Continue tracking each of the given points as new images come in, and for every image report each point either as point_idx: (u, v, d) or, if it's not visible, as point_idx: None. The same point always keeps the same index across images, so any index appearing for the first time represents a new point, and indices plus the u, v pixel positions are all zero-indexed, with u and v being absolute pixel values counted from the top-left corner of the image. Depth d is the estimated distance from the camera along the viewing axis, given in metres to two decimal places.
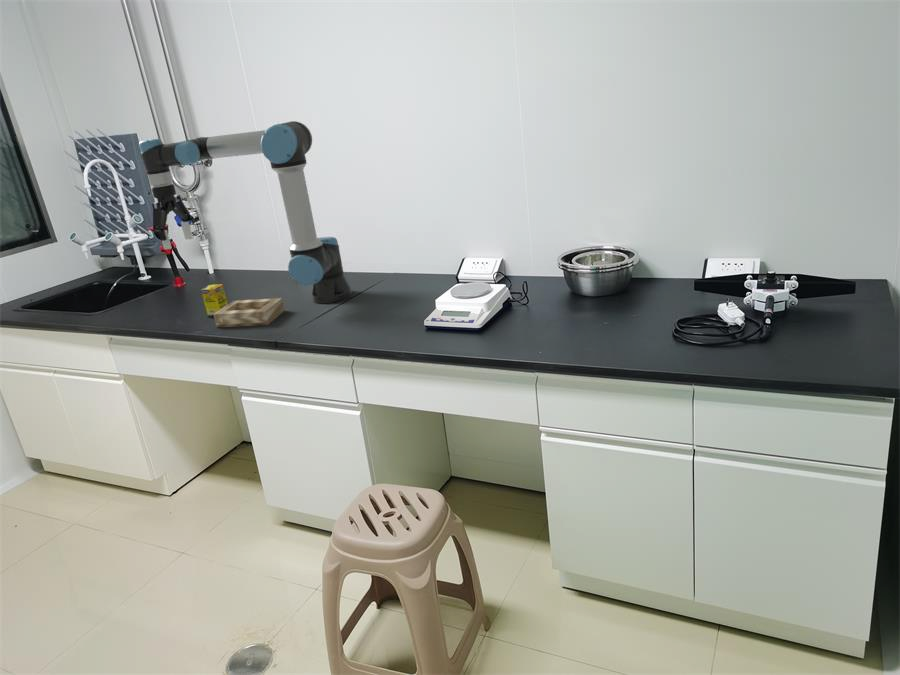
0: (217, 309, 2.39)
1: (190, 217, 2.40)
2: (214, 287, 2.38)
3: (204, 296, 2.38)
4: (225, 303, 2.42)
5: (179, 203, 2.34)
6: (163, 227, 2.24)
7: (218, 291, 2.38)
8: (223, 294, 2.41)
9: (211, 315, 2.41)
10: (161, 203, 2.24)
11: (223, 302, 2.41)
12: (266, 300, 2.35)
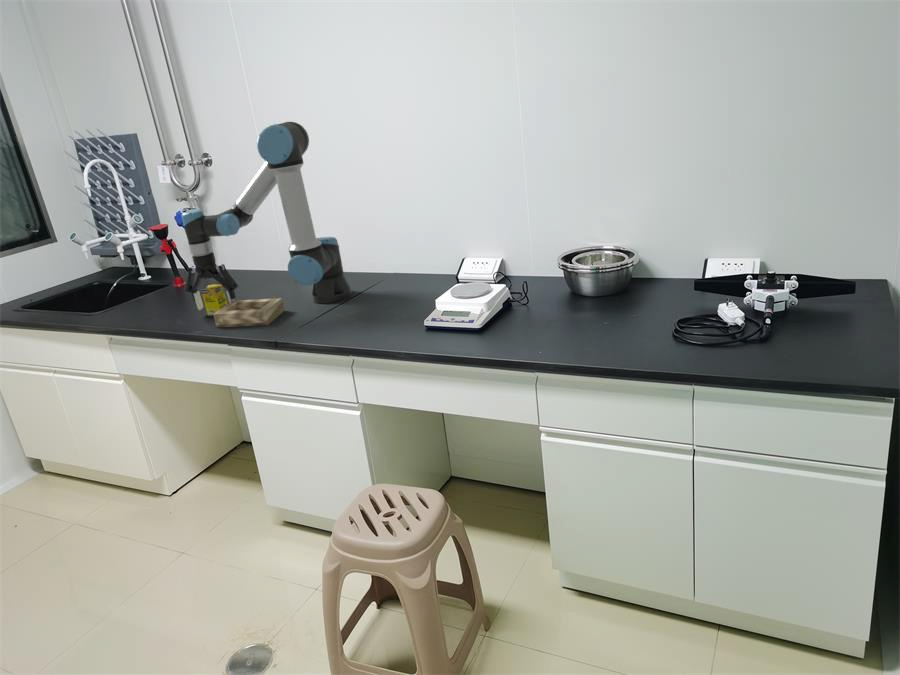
0: (217, 309, 2.39)
1: (233, 289, 2.36)
2: (214, 287, 2.38)
3: (204, 296, 2.38)
4: (225, 303, 2.42)
5: None
6: (192, 290, 2.40)
7: (218, 291, 2.38)
8: (223, 294, 2.41)
9: (211, 315, 2.41)
10: (195, 269, 2.37)
11: (223, 302, 2.41)
12: (266, 300, 2.35)
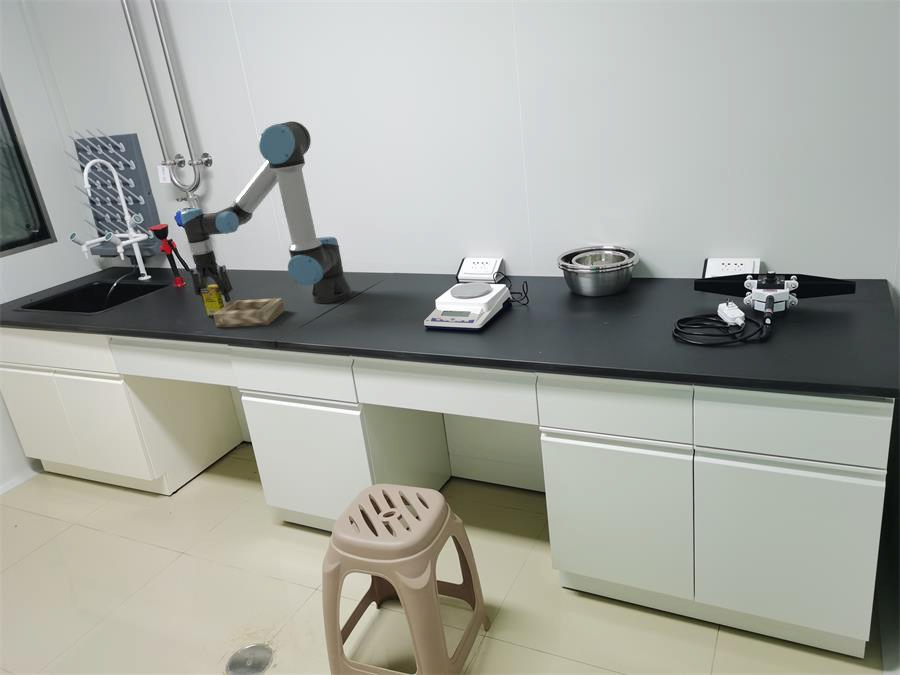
0: (217, 309, 2.39)
1: (227, 291, 2.37)
2: (214, 287, 2.38)
3: (204, 296, 2.38)
4: None
5: None
6: (201, 293, 2.40)
7: (218, 291, 2.38)
8: None
9: (211, 315, 2.41)
10: (196, 269, 2.37)
11: None
12: (266, 300, 2.35)
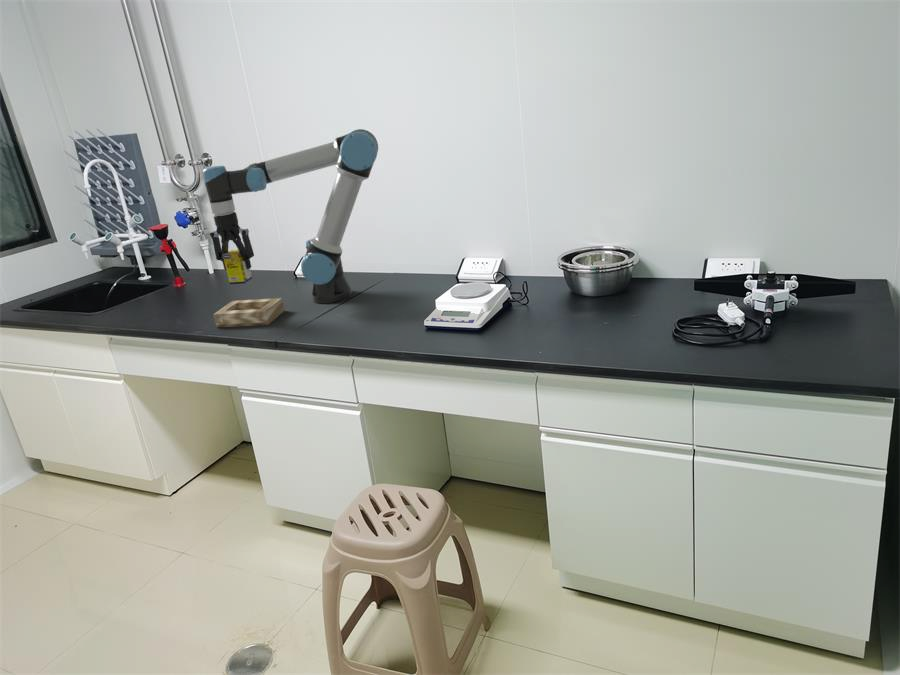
0: (240, 275, 2.24)
1: (248, 257, 2.22)
2: (237, 252, 2.23)
3: (226, 261, 2.23)
4: None
5: None
6: (222, 258, 2.24)
7: (240, 256, 2.23)
8: None
9: (233, 282, 2.25)
10: (216, 232, 2.21)
11: None
12: (266, 300, 2.35)
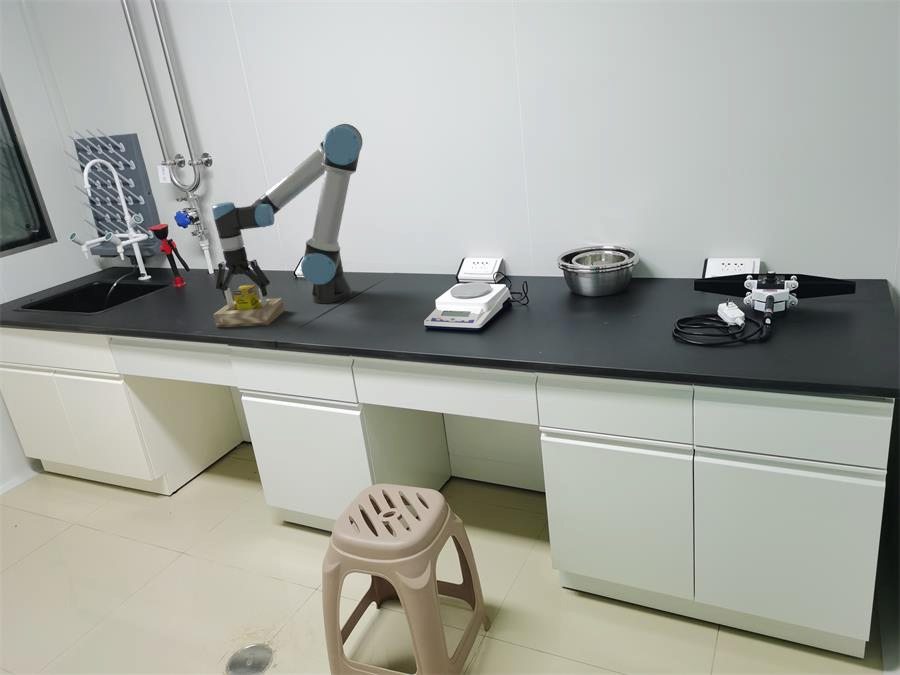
0: None
1: (265, 285, 2.26)
2: (247, 288, 2.28)
3: (236, 297, 2.28)
4: (257, 305, 2.32)
5: None
6: (222, 287, 2.29)
7: (250, 292, 2.28)
8: (255, 296, 2.31)
9: None
10: (225, 265, 2.26)
11: (255, 303, 2.31)
12: None
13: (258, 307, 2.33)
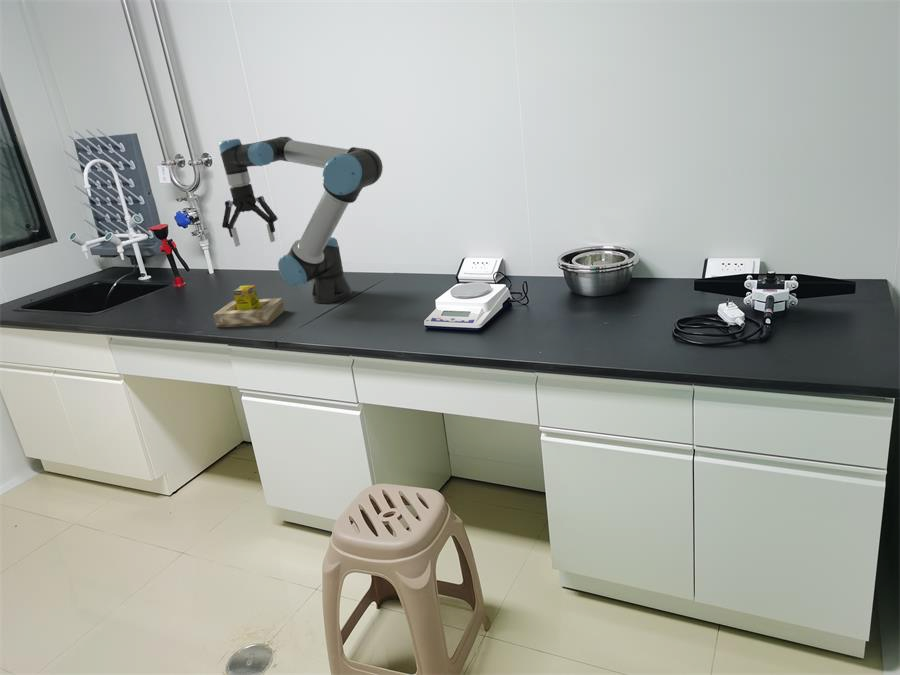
0: None
1: (273, 220, 2.30)
2: (247, 288, 2.28)
3: (236, 297, 2.28)
4: (257, 305, 2.32)
5: None
6: (229, 225, 2.32)
7: (250, 292, 2.28)
8: (255, 296, 2.31)
9: None
10: (232, 202, 2.29)
11: (255, 303, 2.31)
12: (266, 300, 2.35)
13: (258, 307, 2.33)
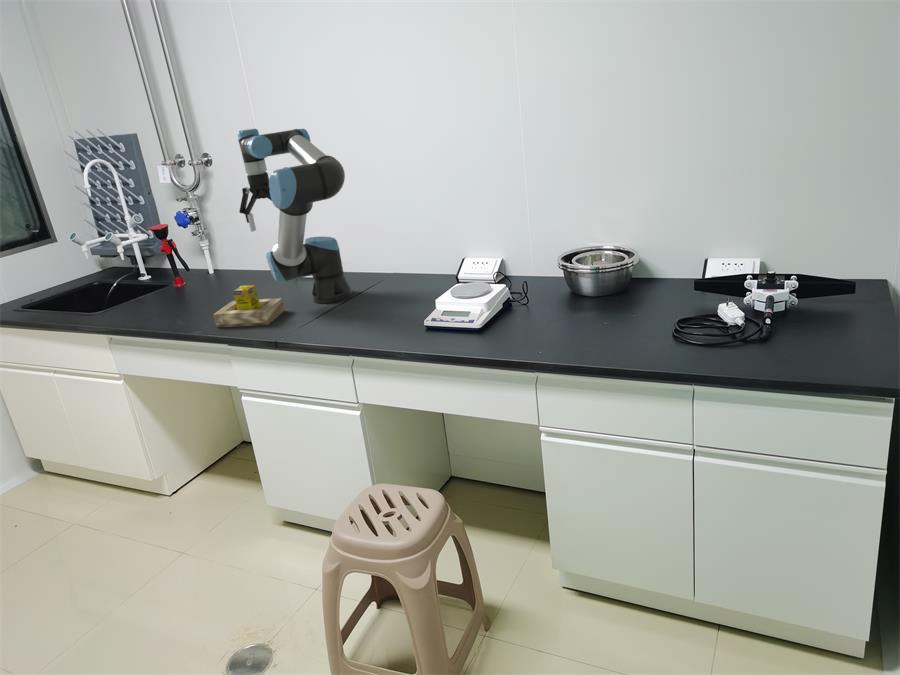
0: None
1: None
2: (247, 288, 2.28)
3: (236, 297, 2.28)
4: (257, 305, 2.32)
5: None
6: (245, 211, 2.43)
7: (250, 292, 2.28)
8: (255, 296, 2.31)
9: None
10: (249, 189, 2.40)
11: (255, 303, 2.31)
12: (266, 300, 2.35)
13: (258, 307, 2.33)
